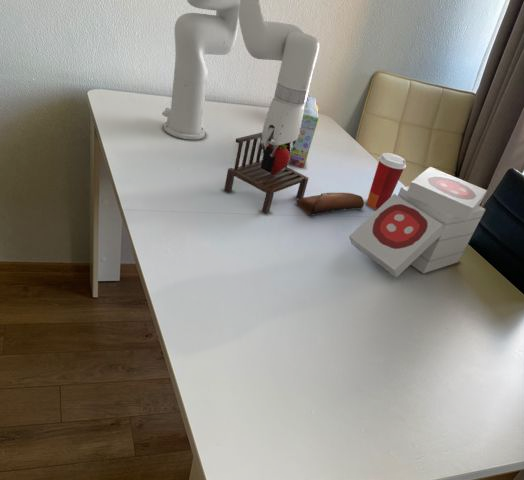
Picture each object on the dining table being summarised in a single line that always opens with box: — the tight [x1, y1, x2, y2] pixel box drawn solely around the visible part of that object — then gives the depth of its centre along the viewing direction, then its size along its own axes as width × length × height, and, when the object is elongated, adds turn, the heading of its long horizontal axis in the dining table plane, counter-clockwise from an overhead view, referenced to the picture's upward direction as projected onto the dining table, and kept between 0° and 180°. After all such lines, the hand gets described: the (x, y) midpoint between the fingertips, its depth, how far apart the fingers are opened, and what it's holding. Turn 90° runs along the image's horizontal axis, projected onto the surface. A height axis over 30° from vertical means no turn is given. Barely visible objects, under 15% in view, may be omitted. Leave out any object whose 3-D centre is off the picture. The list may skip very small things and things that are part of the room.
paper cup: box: [366, 152, 407, 211], centre depth 148 cm, size 8×8×14 cm
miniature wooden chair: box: [223, 132, 310, 215], centre depth 137 cm, size 14×17×14 cm
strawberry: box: [269, 144, 290, 175], centre depth 134 cm, size 6×8×10 cm
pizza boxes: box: [348, 166, 488, 278], centre depth 127 cm, size 19×30×18 cm, turn 128°
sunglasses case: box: [295, 192, 365, 216], centre depth 143 cm, size 18×7×7 cm
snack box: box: [288, 95, 319, 168], centre depth 165 cm, size 21×6×15 cm, turn 179°
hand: (274, 167), depth 136 cm, fingers closed on strawberry, 6 cm apart
